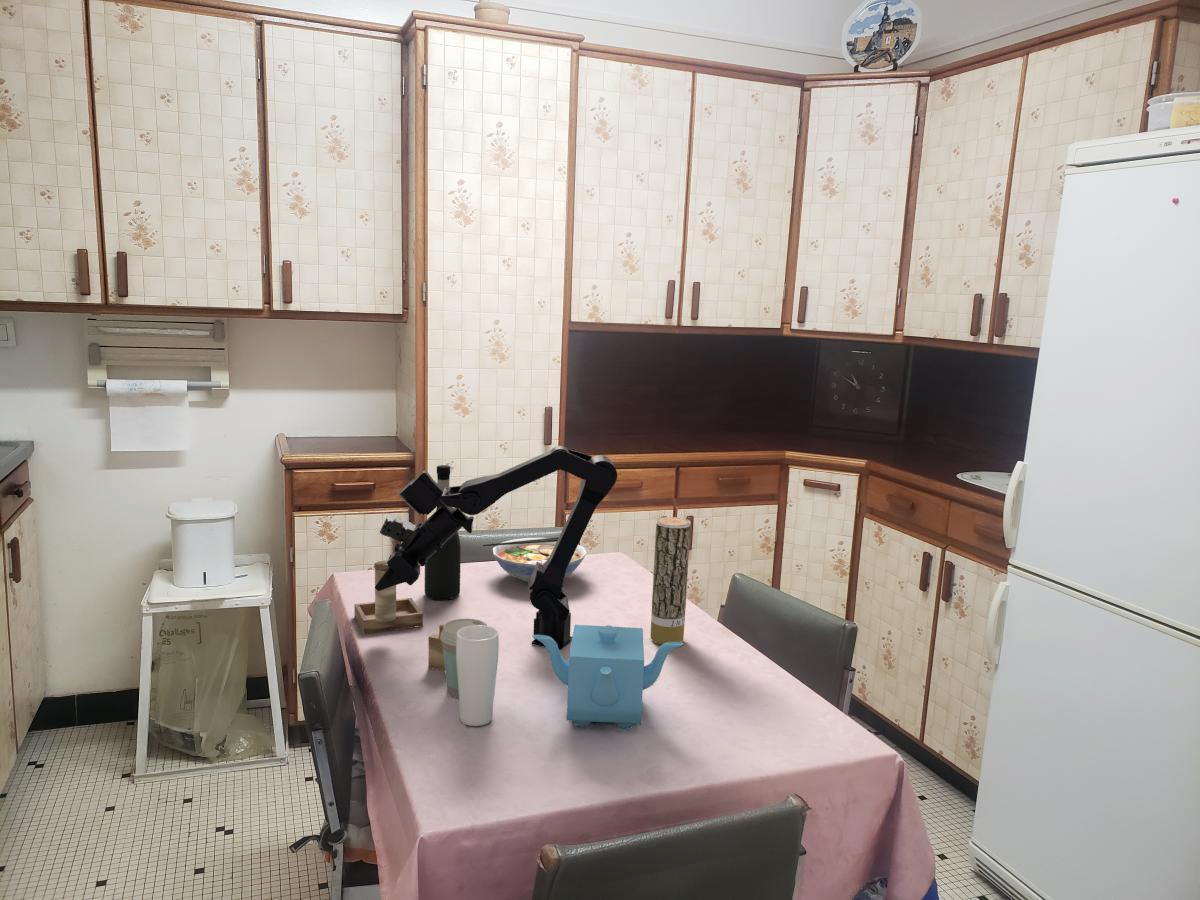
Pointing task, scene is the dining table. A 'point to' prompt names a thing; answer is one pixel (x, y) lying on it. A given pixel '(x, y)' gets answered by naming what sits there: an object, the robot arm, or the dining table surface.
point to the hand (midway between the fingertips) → (378, 585)
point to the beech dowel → (384, 596)
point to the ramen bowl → (530, 555)
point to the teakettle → (606, 673)
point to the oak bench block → (436, 651)
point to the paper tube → (670, 579)
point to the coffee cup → (453, 651)
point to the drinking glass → (476, 672)
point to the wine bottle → (444, 558)
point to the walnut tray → (405, 618)
